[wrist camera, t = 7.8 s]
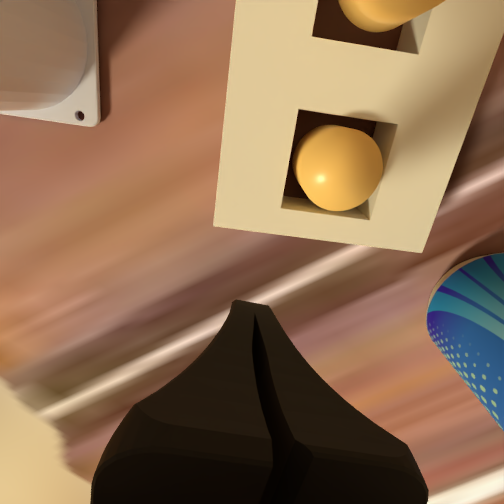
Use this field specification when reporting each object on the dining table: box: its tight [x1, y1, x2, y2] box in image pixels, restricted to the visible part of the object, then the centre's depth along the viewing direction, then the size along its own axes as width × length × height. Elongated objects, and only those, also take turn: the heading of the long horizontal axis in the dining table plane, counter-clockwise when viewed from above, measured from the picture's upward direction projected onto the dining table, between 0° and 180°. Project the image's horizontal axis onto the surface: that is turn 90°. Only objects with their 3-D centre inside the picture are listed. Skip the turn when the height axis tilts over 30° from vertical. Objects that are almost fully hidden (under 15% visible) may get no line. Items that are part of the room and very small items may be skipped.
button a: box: [293, 125, 383, 211], centre depth 18 cm, size 4×4×3 cm
